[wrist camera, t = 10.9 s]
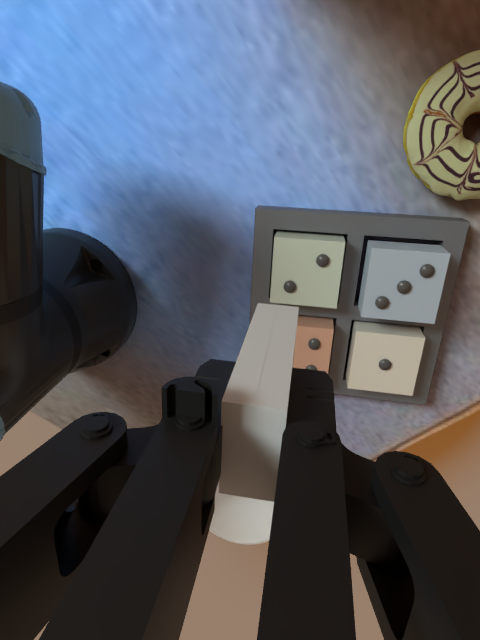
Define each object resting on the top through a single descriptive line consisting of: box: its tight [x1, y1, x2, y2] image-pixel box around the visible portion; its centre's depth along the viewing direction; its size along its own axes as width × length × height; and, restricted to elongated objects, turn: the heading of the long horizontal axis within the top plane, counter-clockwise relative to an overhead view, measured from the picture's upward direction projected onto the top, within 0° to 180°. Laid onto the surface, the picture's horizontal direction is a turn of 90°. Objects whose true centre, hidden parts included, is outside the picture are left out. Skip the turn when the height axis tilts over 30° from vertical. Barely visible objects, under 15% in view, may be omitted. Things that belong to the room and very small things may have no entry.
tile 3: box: [358, 240, 451, 324], centre depth 37 cm, size 6×6×3 cm
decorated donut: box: [403, 50, 480, 201], centre depth 34 cm, size 10×11×4 cm
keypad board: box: [250, 206, 470, 405], centre depth 42 cm, size 18×18×2 cm
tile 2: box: [270, 230, 345, 309], centre depth 39 cm, size 6×6×3 cm
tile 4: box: [293, 315, 334, 374], centre depth 42 cm, size 6×6×3 cm
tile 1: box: [346, 320, 425, 396], centre depth 41 cm, size 6×6×3 cm
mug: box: [209, 482, 274, 545], centre depth 45 cm, size 12×9×12 cm
